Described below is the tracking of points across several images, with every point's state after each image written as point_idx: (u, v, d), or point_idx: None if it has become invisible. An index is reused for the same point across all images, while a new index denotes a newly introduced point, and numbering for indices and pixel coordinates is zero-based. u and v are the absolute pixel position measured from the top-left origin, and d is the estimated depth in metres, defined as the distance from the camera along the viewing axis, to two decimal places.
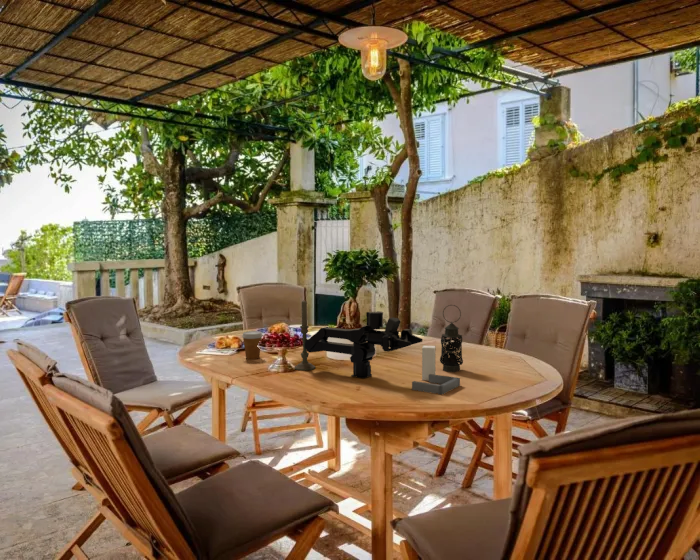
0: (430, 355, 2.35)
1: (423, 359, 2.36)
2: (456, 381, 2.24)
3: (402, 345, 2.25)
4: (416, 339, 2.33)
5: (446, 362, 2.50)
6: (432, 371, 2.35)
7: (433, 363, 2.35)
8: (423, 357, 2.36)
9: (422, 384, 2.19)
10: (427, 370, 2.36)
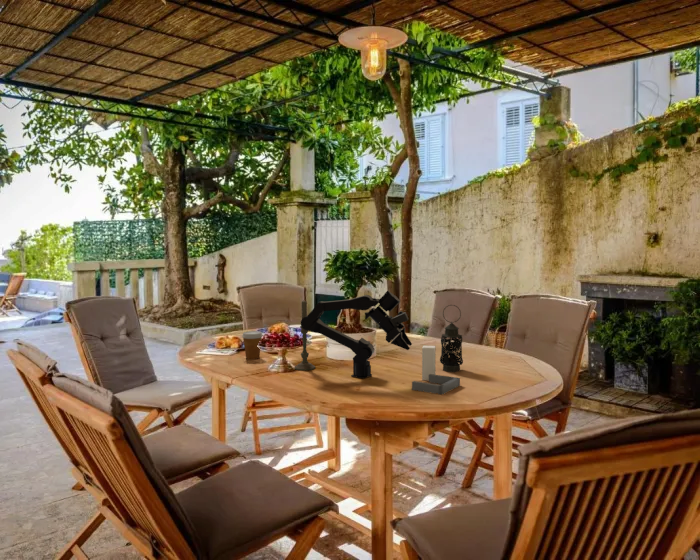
0: (430, 355, 2.35)
1: (423, 359, 2.36)
2: (456, 381, 2.24)
3: (401, 345, 2.34)
4: (407, 340, 2.43)
5: (446, 362, 2.50)
6: (432, 371, 2.35)
7: (433, 363, 2.35)
8: (423, 357, 2.36)
9: (422, 384, 2.19)
10: (427, 370, 2.36)
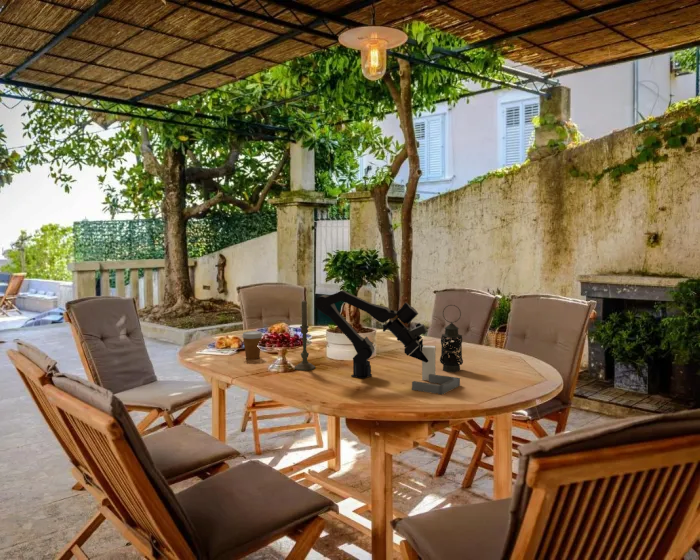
0: (430, 355, 2.35)
1: None
2: (456, 381, 2.24)
3: (420, 358, 2.33)
4: None
5: (446, 362, 2.50)
6: (432, 371, 2.35)
7: (433, 363, 2.35)
8: None
9: (422, 384, 2.19)
10: (427, 370, 2.36)
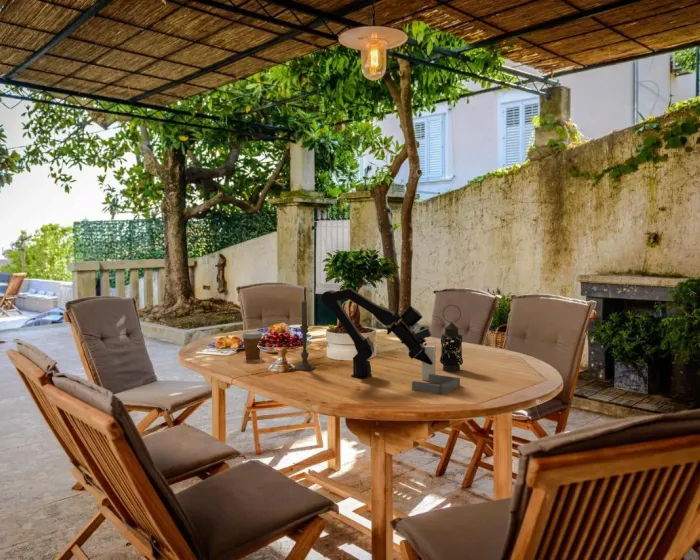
0: (430, 355, 2.35)
1: None
2: (456, 381, 2.24)
3: (425, 360, 2.34)
4: None
5: (446, 362, 2.50)
6: (432, 371, 2.35)
7: (433, 363, 2.35)
8: None
9: (422, 384, 2.19)
10: (427, 370, 2.36)
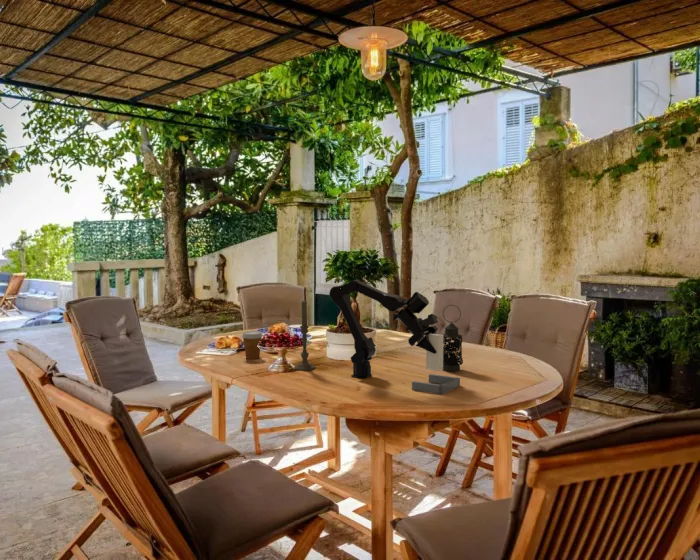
0: (434, 344, 2.25)
1: None
2: (456, 381, 2.24)
3: (428, 348, 2.25)
4: None
5: (446, 362, 2.50)
6: (436, 360, 2.25)
7: (437, 352, 2.25)
8: None
9: (422, 384, 2.19)
10: (431, 360, 2.26)
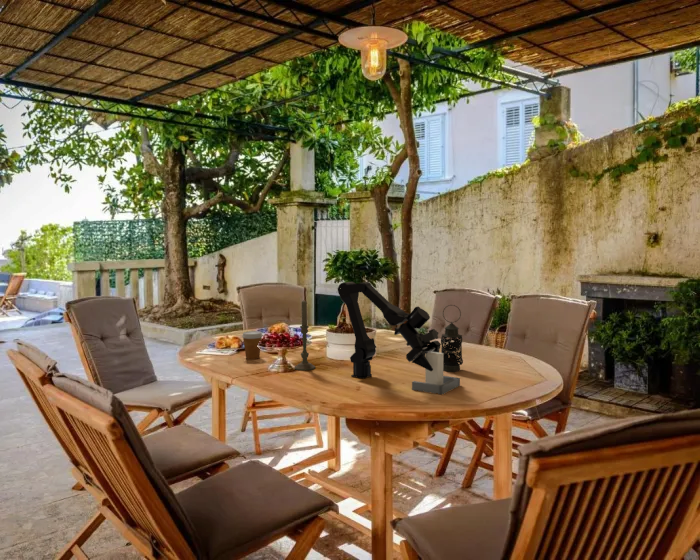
0: (433, 362, 2.22)
1: None
2: (456, 381, 2.24)
3: (424, 365, 2.20)
4: None
5: (446, 362, 2.50)
6: (435, 379, 2.22)
7: (436, 371, 2.21)
8: None
9: (422, 384, 2.19)
10: (430, 378, 2.23)
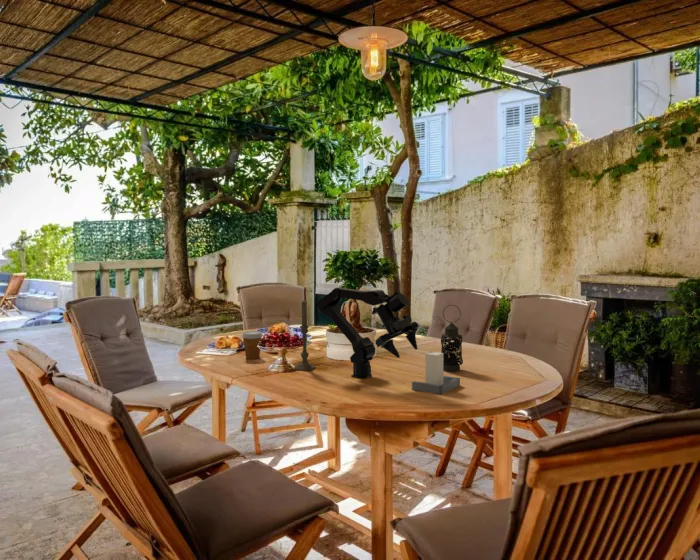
0: (433, 362, 2.22)
1: (426, 366, 2.23)
2: (456, 381, 2.24)
3: (392, 352, 2.29)
4: (413, 343, 2.33)
5: (446, 362, 2.50)
6: (435, 379, 2.22)
7: (436, 371, 2.21)
8: (426, 364, 2.23)
9: (422, 384, 2.19)
10: (430, 378, 2.23)
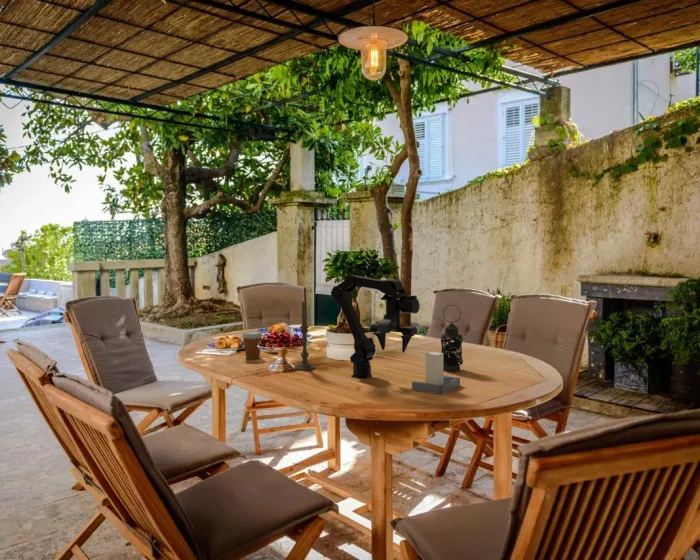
0: (433, 362, 2.22)
1: (426, 366, 2.23)
2: (456, 381, 2.24)
3: None
4: None
5: (446, 362, 2.50)
6: (435, 379, 2.22)
7: (436, 371, 2.21)
8: (426, 364, 2.23)
9: (422, 384, 2.19)
10: (430, 378, 2.23)
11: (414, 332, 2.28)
